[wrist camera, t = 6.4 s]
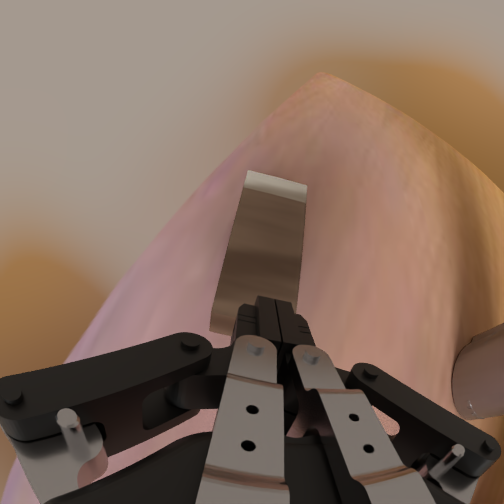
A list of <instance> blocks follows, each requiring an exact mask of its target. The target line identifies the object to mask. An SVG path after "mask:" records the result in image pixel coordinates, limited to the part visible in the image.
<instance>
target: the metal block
mask: <svg viewBox="0 0 504 504" xmlns="http://www.w3.org/2000/svg"><path fill="white" fill-rule="evenodd" d="M306 197H307V185H304V184H300V183H297V182H293V181H290V180H286V179H282V178H278V177H274V176H270V175H266V174H262V173H258V172H254V171H250V170H248V172H247V176H246V180H245V183H244V187H243V190H242V194H241V198H240V202H239V205H238V209H237V213H236V216H235V220H234V224H233V228H232V232H231V235H230V239H229V243H228V247H227V251H226V255H225V259H224V263H223V267H222V271H221V275H220V279H219V283H218V287H217V291H216V295H215V299H214V303H213V307H212V311H211V320H210V329H209V331H211V332H215V333H220V334H224V335H228V336H232V332H233V328H234V324H235V320H236V316H237V312H238V308H239V307H240V306H241V305H243V304H244V303H245V304H249V305H255V301H256V298H257V296H258V295H259V296H264V297H268V298H273V299H278V300H283V301H287V302H291V303H292V307H293V310H294V313H295V314H296V308H297V299H298V290H299V280H300V271H301V260H302V249H303V238H304V225H305V212H306Z"/></svg>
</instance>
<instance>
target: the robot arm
mask: <svg viewBox="0 0 504 504" xmlns="http://www.w3.org/2000/svg"><path fill="white" fill-rule="evenodd" d="M452 391H453V399H454V403H455V406H456V408H457V411H458V412H459V414H460V415H461V416H462V417H463V418H464V419H467V420H475V419H484V418H489V417H495V416H501V415H504V323H502V324H500V325H498V326H496V327H494V328H492V329H490V330H488V331H485V332H483V333H481V334H479V335H476V336H474V337H473V339H472V342H471V343H470V344H469V345H467V346H465V347H464V348H463V349H462V351H461V352H460V354H459V356H458V358H457V360H456V363H455V367H454V371H453V379H452ZM372 405H373V406H374V407H376V408H377V409H379V410H380V411H382V412H383V413H385V414H386V415H388V416H389V417H391V418H392V419H394V420H395V421H396V422H397V423H398V424H399V426H400V430H399V433H398V434H396V435H393V436H391V435H388V434H386V432H385V430H384V428H383V426H382V424H381V423H380V421H379V419H378V417H377V415H376V414H375V412H374V410H373V408H372ZM217 408H218V410H217V414H216V418H215V422H214V426H213V430H212V431H211V432H202V433H197V434H193V435H189V436H186V437H183V438H181V439H178V440H176V441H174V442H172V443H171V444H169V445H167V446H165V447H164V448H162V449H160V450H158V451H157V452H155V453H153V454H151V455H149V456H147V457H146V458H144V459H142V460H140V461H138V462H136V463H134V464H132V465H130V466H128V467H126V468H124V469H122V470H120V471H118V472H116V473H114V474H111V475H109V476H107V477H105V478H103V479H100V480H98V481H96V482H94V483H92V482H93V481H94V480H95V479H97V478H99V477H100V476H102V475H103V474H104V473H105V471H106V470H107V468H108V457H109V456H112V455H114V454H117V453H119V452H122V451H124V450H126V449H129V448H131V447H133V446H135V445H138V444H140V443H142V442H144V441H146V440H148V439H151V438H153V437H155V436H157V435H159V434H161V433H163V432H165V431H167V430H169V429H171V428H173V427H175V426H177V425H179V424H181V423H182V422H184V421H186V420H188V419H190V418H192V417H194V416H195V415H197V414H198V413H199V411H200V409H217ZM0 425H1V428H2V430H3V431H4V433H5V435H6V436H7V438H8V439H9V441H10V443H11V444H12V446H13V447H14V449H15V451H16V454H17V456H18V459H19V461H20V464H21V466H22V468H23V470H24V472H25V475H26V477H27V479H28V481H29V483H30V485H31V487H32V489H33V491H34V493H35V495H36V496H37V498H38V500H39V502H40V504H470V501H471V498H472V496H473V493H474V490H475V487H476V484H477V481H478V478H479V477H480V476H481V475H482V474H483V473H484V472H485V471H486V470H487V469H489V468H490V467H491V466H492V465H493V464H494V462H495V461H496V460H497V459H498V458H499V457H500V455H501V448H500V445H499V443H498V442H497V441H496V440H495V439H494V438H493V437H492V436H490V435H488V434H487V433H485V432H483V431H481V430H480V429H478V428H476V427H474V426H473V425H471V424H469V423H468V422H466V421H464V420H462V419H461V418H459V417H457V416H456V415H454V414H452V413H451V412H449V411H447V410H446V409H444V408H442V407H441V406H439V405H437V404H436V403H434V402H432V401H431V400H429V399H427V398H426V397H424V396H422V395H421V394H419V393H418V392H416V391H414V390H413V389H411V388H410V387H408V386H406V385H405V384H403V383H401V382H400V381H398V380H397V379H395V378H394V377H392V376H390V375H389V374H387V373H386V372H384V371H382V370H381V369H379V368H378V367H376V366H374V365H371V364H368V363H357V364H355V365H354V366H353V368H352V369H351V371H350V372H348V371H345V370H342V369H339V368H336V367H334V365H333V363H332V361H331V359H330V357H329V355H328V354H327V353H326V352H324V351H323V350H321V349H319V348H317V347H316V346H315V343H314V340H313V337H312V334H311V332H310V329H309V326H308V323H307V321H306V320H305V319H304V318H303V317H302V316H301V315H299V314H295V313H294V310H293V307H292V303H291V302H287V301H283V300H278V299H273V298H268V297H264V296H259V295H258V296H257V298H256V301H255V305H249V304H245V303H244V304H243V305H241V306H240V307H239V308H238V312H237V316H236V320H235V324H234V328H233V332H232V336H231V344H230V346H228V347H225V348H213V347H212V345H211V343H210V342H209V341H208V340H207V339H206V338H204V337H202V336H200V335H197V334H194V333H188V332H181V333H176V334H173V335H170V336H166V337H163V338H160V339H156V340H153V341H150V342H146V343H143V344H139V345H136V346H132V347H129V348H125V349H121V350H118V351H114V352H110V353H107V354H103V355H99V356H95V357H91V358H87V359H83V360H79V361H75V362H71V363H67V364H62V365H58V366H54V367H49V368H45V369H41V370H35V371H31V372H26V373H21V374H16V375H10V376H6V377H2V378H0Z"/></svg>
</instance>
